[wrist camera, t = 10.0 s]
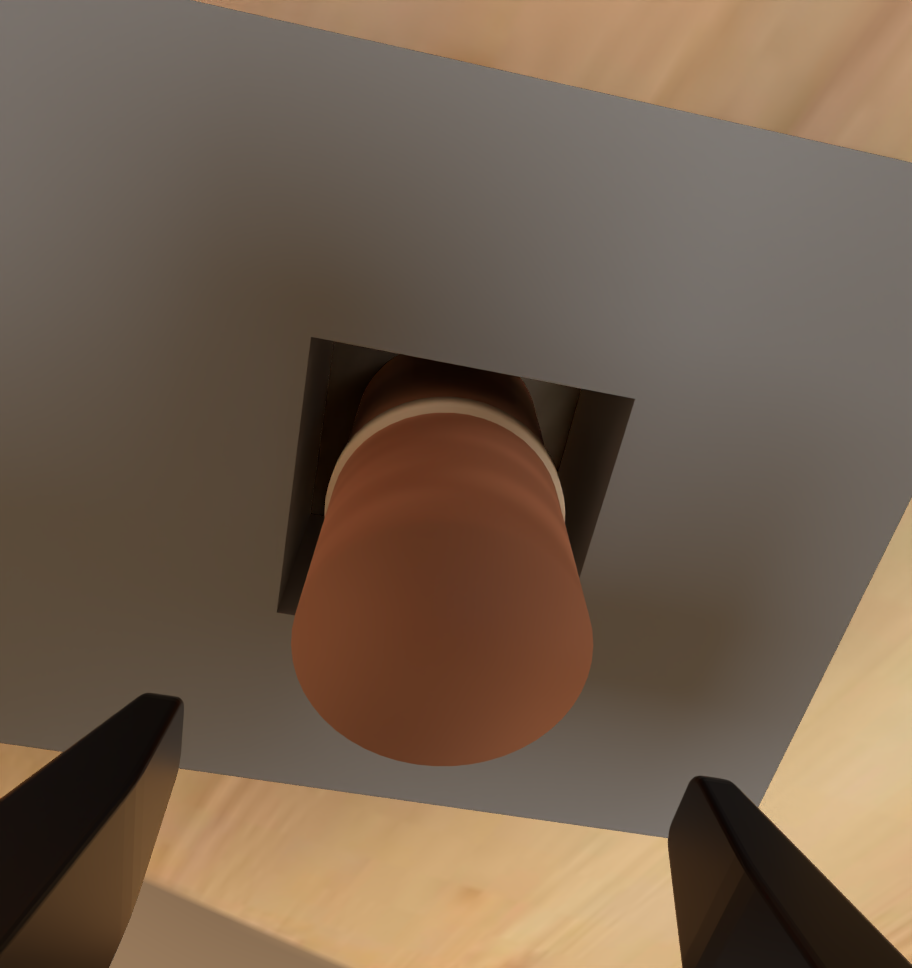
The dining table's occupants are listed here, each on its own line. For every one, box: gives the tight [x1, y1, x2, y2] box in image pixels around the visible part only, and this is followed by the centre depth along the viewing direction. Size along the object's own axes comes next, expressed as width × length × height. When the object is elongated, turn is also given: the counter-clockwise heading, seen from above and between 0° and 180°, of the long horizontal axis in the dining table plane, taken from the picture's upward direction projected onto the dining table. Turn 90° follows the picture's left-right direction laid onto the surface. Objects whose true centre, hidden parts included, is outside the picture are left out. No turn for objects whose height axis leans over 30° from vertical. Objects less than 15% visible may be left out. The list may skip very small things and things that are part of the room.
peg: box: [291, 354, 593, 766], centre depth 14 cm, size 4×4×8 cm
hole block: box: [0, 0, 912, 838], centre depth 16 cm, size 16×14×4 cm
